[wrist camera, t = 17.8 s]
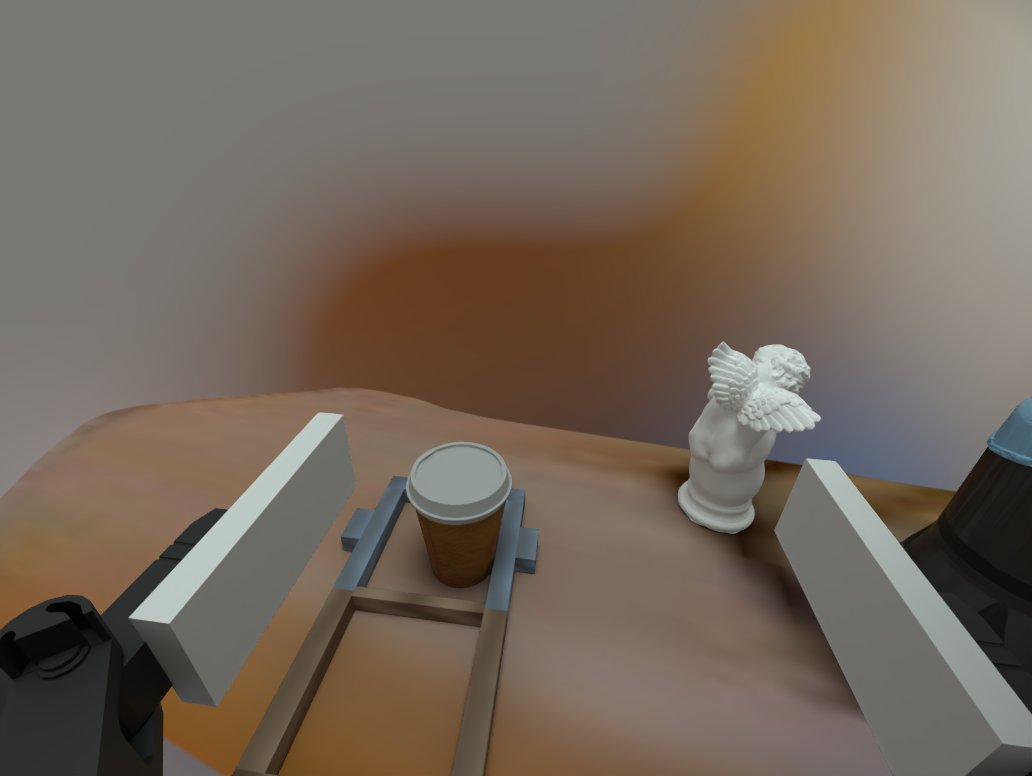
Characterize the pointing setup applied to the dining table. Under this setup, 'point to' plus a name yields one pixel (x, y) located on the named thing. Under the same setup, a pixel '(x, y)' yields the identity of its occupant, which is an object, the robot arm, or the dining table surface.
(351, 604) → the two-bay frame
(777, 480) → the dining table surface
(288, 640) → the dining table surface
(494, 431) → the dining table surface
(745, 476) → the cherub figurine
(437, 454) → the disposable coffee cup
